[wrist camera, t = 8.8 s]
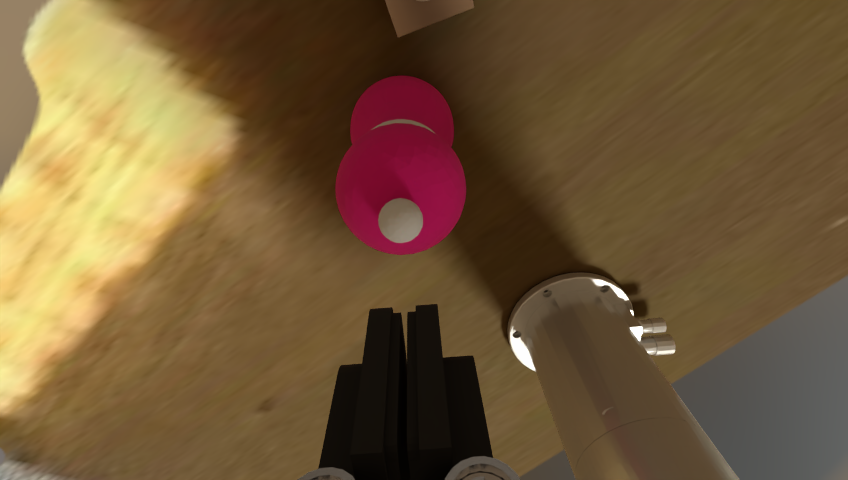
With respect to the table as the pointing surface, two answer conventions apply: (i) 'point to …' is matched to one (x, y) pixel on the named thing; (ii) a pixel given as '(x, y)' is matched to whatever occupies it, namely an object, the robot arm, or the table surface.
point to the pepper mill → (401, 168)
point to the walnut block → (423, 12)
